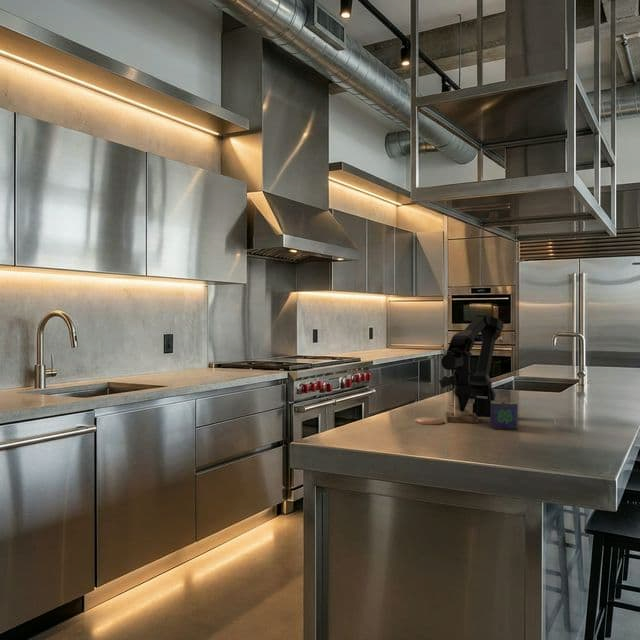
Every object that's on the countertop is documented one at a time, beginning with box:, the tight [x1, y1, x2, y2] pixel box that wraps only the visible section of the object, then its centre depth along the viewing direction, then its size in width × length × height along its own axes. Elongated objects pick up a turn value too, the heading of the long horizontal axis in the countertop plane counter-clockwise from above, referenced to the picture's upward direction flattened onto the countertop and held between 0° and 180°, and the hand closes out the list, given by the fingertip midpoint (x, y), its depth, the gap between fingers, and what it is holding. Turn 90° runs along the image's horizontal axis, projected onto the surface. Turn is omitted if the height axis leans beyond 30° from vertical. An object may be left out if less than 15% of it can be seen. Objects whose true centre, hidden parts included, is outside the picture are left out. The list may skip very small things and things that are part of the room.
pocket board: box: [445, 411, 479, 424], centre depth 231 cm, size 11×11×2 cm
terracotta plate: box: [414, 416, 444, 426], centre depth 225 cm, size 10×10×1 cm
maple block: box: [453, 394, 470, 416], centre depth 231 cm, size 5×4×9 cm
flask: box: [489, 397, 519, 431], centre depth 213 cm, size 9×3×11 cm, turn 88°
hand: (461, 410), depth 231 cm, fingers closed on maple block, 4 cm apart
